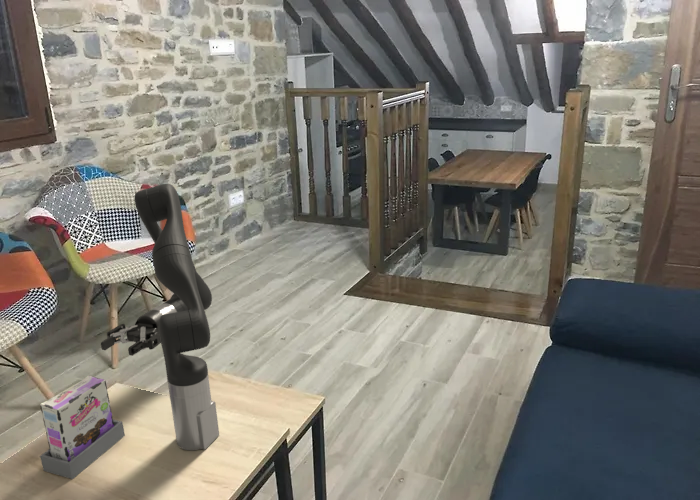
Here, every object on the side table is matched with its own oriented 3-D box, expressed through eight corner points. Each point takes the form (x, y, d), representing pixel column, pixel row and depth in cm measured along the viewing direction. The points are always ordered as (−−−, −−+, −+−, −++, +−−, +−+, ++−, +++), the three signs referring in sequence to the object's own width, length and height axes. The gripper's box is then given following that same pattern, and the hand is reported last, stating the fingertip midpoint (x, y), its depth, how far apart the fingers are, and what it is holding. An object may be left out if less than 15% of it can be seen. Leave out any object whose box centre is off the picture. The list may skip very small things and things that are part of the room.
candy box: (70, 472, 134) (56, 409, 128) (52, 465, 136) (37, 403, 131) (117, 437, 145) (106, 378, 140) (100, 432, 148) (88, 373, 143)
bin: (124, 435, 146) (122, 421, 145) (72, 479, 131) (69, 464, 130) (97, 428, 149) (94, 415, 148) (43, 470, 135) (40, 455, 133)
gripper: (134, 305, 162) (90, 331, 148) (178, 312, 157) (136, 340, 143) (138, 330, 165) (95, 358, 150) (181, 337, 160) (141, 367, 145)
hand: (115, 349), depth 147 cm, fingers open, 8 cm apart
